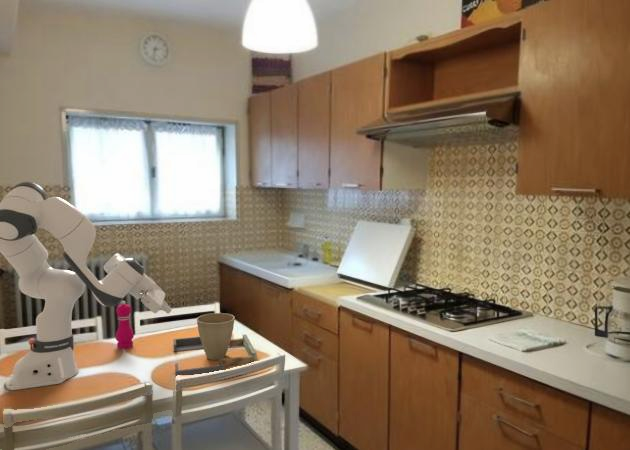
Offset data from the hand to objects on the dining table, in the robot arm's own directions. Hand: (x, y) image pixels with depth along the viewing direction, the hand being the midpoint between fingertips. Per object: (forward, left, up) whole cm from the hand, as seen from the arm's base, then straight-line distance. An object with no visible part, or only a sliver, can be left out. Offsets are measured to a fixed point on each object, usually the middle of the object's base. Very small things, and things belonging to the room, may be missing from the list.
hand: (170, 311), depth 178 cm
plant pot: (+17, -4, -20) cm, 27 cm away
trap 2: (+6, -16, -20) cm, 27 cm away
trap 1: (+13, +12, -20) cm, 27 cm away
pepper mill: (-12, +28, -20) cm, 37 cm away
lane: (+24, -6, -20) cm, 32 cm away
